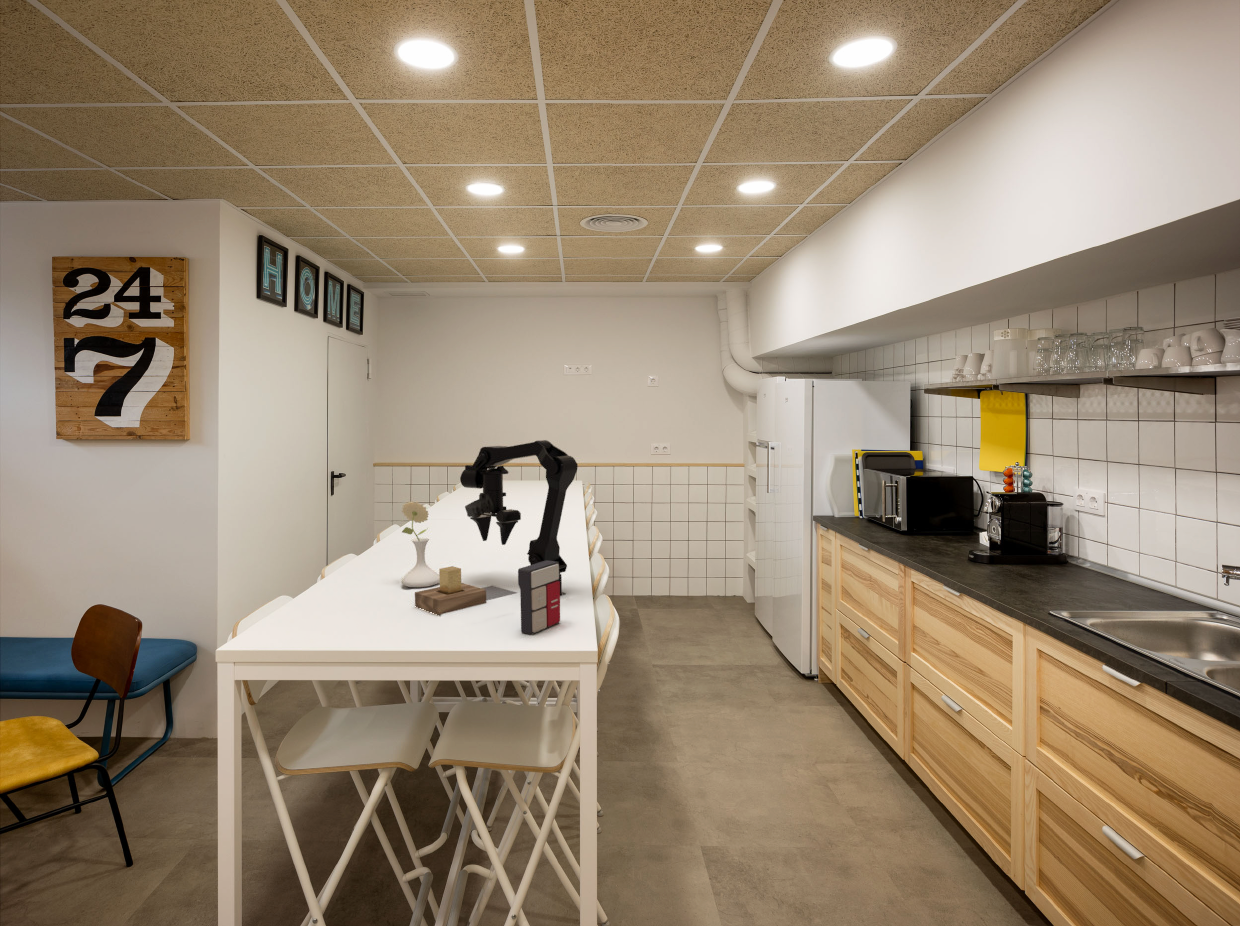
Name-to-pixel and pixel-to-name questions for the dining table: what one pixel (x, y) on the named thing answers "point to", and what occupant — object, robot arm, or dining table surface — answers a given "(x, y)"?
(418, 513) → the flower in vase
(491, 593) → the rubber mat
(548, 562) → the grey and red case
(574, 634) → the dining table surface
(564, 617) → the dining table surface
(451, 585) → the light wooden block
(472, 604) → the hole block
